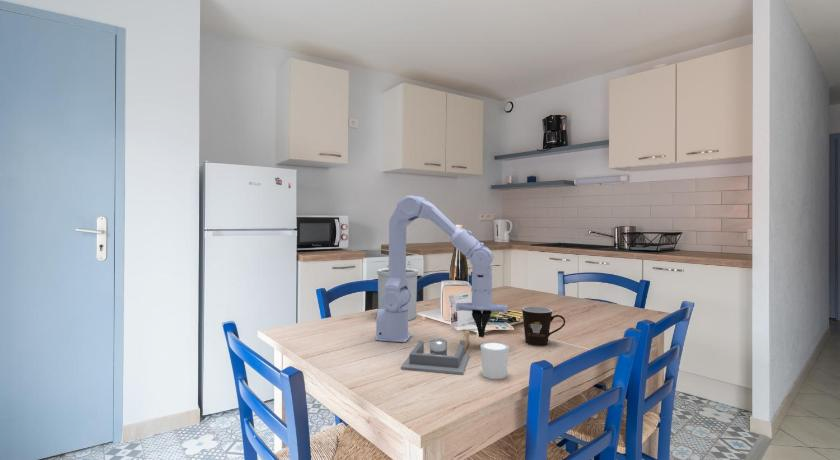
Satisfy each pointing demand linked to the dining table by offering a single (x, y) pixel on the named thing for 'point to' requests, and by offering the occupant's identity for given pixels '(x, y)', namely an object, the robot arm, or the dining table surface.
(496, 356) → the white cylinder
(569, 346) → the dining table surface
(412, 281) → the utensil holder
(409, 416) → the dining table surface
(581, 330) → the dining table surface
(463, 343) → the gate
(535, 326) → the coffee mug
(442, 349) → the steel cylinder
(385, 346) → the dining table surface
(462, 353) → the housing
